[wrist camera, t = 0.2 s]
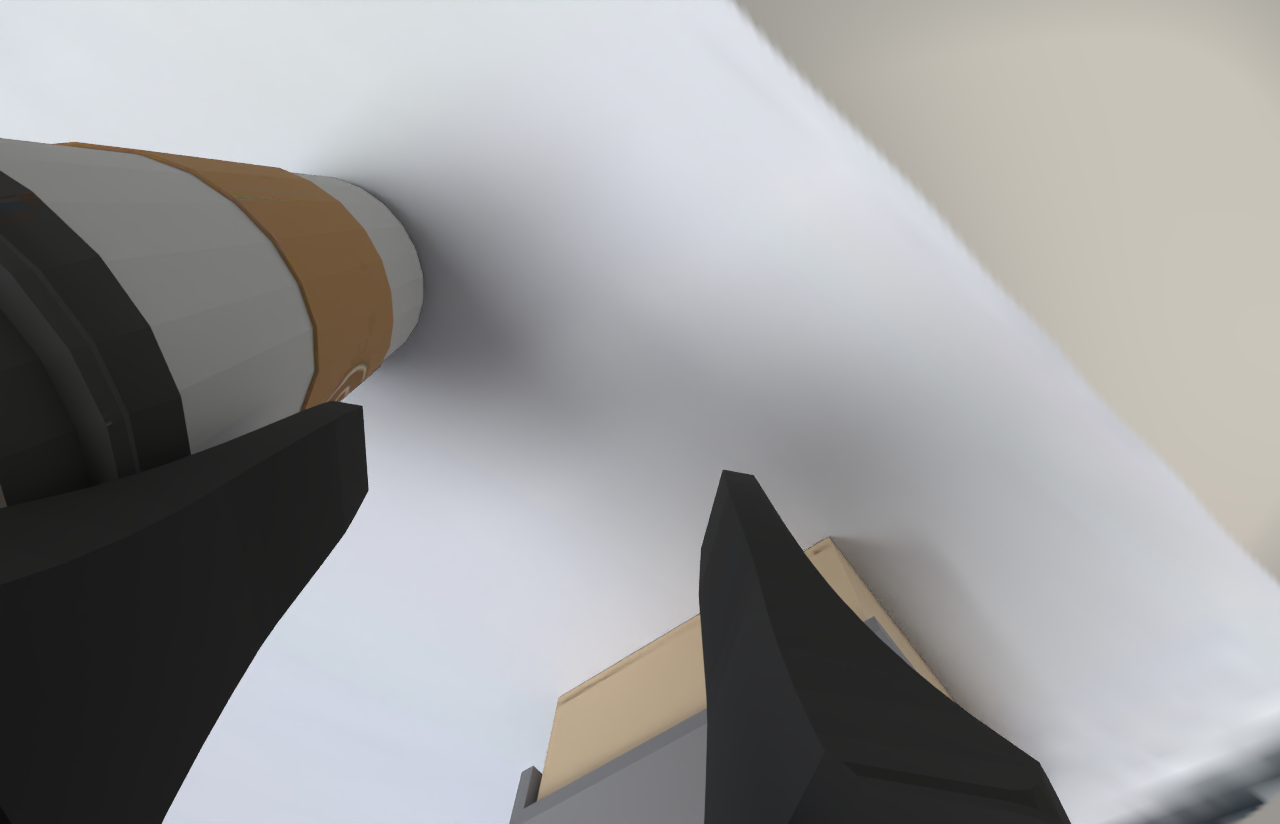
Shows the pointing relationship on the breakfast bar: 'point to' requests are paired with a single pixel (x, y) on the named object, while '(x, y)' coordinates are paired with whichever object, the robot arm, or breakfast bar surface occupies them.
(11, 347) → the coffee cup
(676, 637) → the storage box
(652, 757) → the grey square slab
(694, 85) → the breakfast bar surface
